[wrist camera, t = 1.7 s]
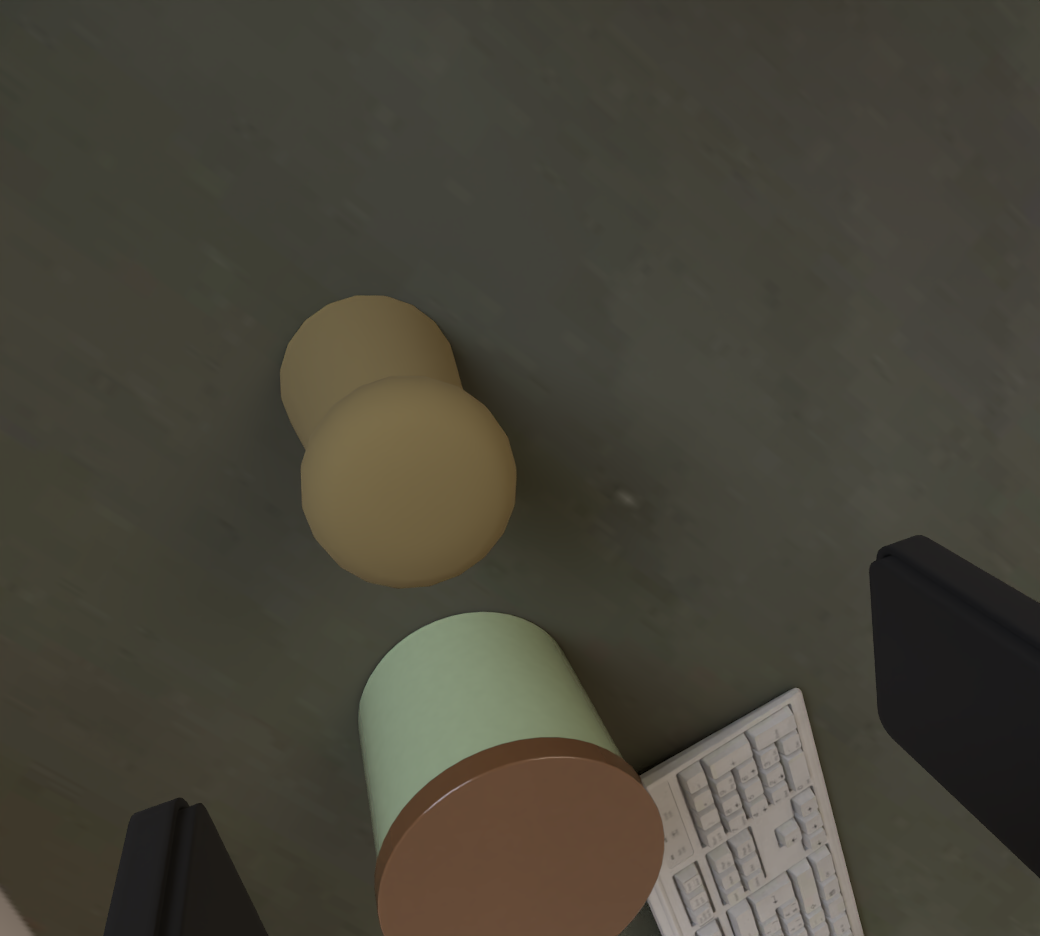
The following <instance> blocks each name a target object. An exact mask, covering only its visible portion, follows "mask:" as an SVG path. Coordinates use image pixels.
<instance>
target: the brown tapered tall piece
mask: <svg viewBox="0 0 1040 936" xmlns="http://www.w3.org/2000/svg"><path fill="white" fill-rule="evenodd" d="M280 384H281V399H282V402H283V404H284V407H285V409H286V412H287V415H288V417H289V420H290V422H291V424H292V426H293V428H294V430H295V432H296V434H297V435H298V437H299V439H300V441H301V443H302V444H303V446H304V448H305V450H306V451H305V454H304V457H303V461H302V464H301V491H302V509H303V511H304V514H305V516H306V518H307V521H308V523H309V526H310V528H311V531H312V533H313V536H314V538H315V539H316V540H317V541H318V542H319V544H320V545H321V546H322V547H323V548H324V549H325V550H326V551H327V553H328V554H329V555H330V556H331V557H332V558H333V559H334V560H335V561H336V563H337V564H338V565H339V566H340V567H341V568H343V569H345V570H347V571H348V572H350V573H352V574H354V575H356V576H357V577H359V578H361V579H363V580H365V581H366V582H369V583H374V584H379V585H383V586H388V587H393V588H398V589H399V588H412V587H425V586H431V585H434V584H437V583H440V582H442V581H445V580H448V579H451V578H453V577H456V576H459V575H460V574H462V573H463V572H465V571H466V570H467V569H469V568H470V567H472V566H473V565H474V564H476V563H477V562H479V561H480V560H481V559H483V558H484V557H485V556H486V555H487V554H488V552H489V551H490V550H491V548H492V547H493V546H494V545H495V543H496V542H497V541H498V540H499V538H500V537H501V536H502V535H503V533H504V531H505V529H506V526H507V524H508V521H509V518H510V516H511V513H512V511H513V508H514V506H515V493H516V476H517V475H516V465H515V461H514V458H513V454H512V450H511V447H510V443H509V440H508V437H507V435H506V434H505V432H504V431H503V430H502V428H501V427H500V425H499V424H498V422H497V421H496V420H495V418H494V417H493V415H492V414H491V412H490V411H489V410H488V409H487V408H486V406H485V405H484V404H482V403H481V402H479V401H478V400H477V399H475V398H474V397H473V396H471V395H470V394H468V393H467V392H466V391H464V390H463V389H462V385H461V381H460V377H459V373H458V369H457V366H456V363H455V359H454V356H453V352H452V349H451V346H450V343H449V342H448V340H447V339H446V337H445V336H444V335H443V333H442V332H441V330H440V329H439V327H438V326H437V325H436V323H435V322H434V321H433V320H432V319H430V318H429V317H428V316H426V315H425V314H424V313H422V312H421V311H420V310H418V309H417V308H416V307H414V306H413V305H411V304H408V303H405V302H402V301H399V300H396V299H393V298H390V297H387V296H363V295H356V296H353V297H350V298H346V299H343V300H340V301H337V302H333V303H330V304H328V305H326V306H325V307H324V308H322V309H321V310H319V311H318V312H316V313H315V314H314V315H312V316H311V317H309V318H308V319H307V320H305V321H304V323H303V324H302V325H301V327H300V328H299V330H298V331H297V332H296V334H295V335H294V336H293V338H292V339H291V341H290V342H289V343H288V346H287V349H286V352H285V356H284V359H283V362H282V366H281V369H280Z"/></svg>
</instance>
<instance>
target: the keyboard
mask: <svg viewBox="0 0 1040 936" xmlns="http://www.w3.org/2000/svg"><path fill="white" fill-rule="evenodd" d="M640 777H641V779H642V781H643V782H644V784H645V786H646V788H647V789H648V791H649V793H650V795H651V796H652V798H653V800H654V802H655V803H656V805H657V807H658V809H659V812H660V815H661V818H662V822H663V828H664V834H665V841H664V856H663V862H662V866H661V869H660V873H659V876H658V879H657V881H656V883H655V885H654V888H653V890H652V892H651V894H650V896H649V897H648V899H647V901H648V904H649V906H650V909H651V911H652V913H653V916H654V918H655V920H656V923H657V925H658V928H659V930H660V932H661V935H662V936H864V934H863V930H862V926H861V922H860V918H859V915H858V911H857V907H856V903H855V899H854V895H853V891H852V887H851V883H850V879H849V875H848V871H847V868H846V864H845V860H844V856H843V852H842V848H841V844H840V840H839V836H838V832H837V828H836V824H835V820H834V817H833V813H832V809H831V805H830V801H829V797H828V793H827V789H826V785H825V781H824V777H823V773H822V770H821V766H820V762H819V758H818V754H817V750H816V746H815V742H814V738H813V734H812V730H811V726H810V723H809V719H808V715H807V711H806V707H805V703H804V699H803V695H802V691H801V690H800V689H799V688H793V689H791V690H789V691H787V692H785V693H784V694H782V695H780V696H778V697H777V698H775V699H773V700H771V701H770V702H768V703H766V704H764V705H763V706H761V707H759V708H757V709H756V710H754V711H752V712H750V713H749V714H747V715H745V716H743V717H741V718H740V719H738V720H736V721H734V722H733V723H731V724H729V725H727V726H726V727H724V728H722V729H720V730H719V731H717V732H715V733H713V734H712V735H710V736H708V737H706V738H705V739H703V740H701V741H699V742H698V743H696V744H694V745H692V746H691V747H689V748H687V749H685V750H684V751H682V752H680V753H678V754H677V755H675V756H673V757H671V758H670V759H668V760H666V761H664V762H663V763H661V764H659V765H657V766H656V767H654V768H652V769H650V770H649V771H647V772H645V773H643V774H642V775H640Z"/></svg>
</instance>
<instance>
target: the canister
mask: <svg viewBox="0 0 1040 936" xmlns="http://www.w3.org/2000/svg"><path fill="white" fill-rule="evenodd" d="M358 729H359V736H360V743H361V750H362V758H363V765H364V772H365V779H366V786H367V793H368V800H369V807H370V814H371V821H372V828H373V835H374V842H375V849H376V856H377V863H376V869H375V885H374V889H375V897H376V904H377V912H378V918H379V923H380V927H381V930H382V933H383V935H384V936H618V935H619V934H620V933H621V932H622V931H623V930H624V929H625V928H626V927H627V925H628V924H629V923H630V922H631V921H632V920H633V919H634V918H635V916H636V915H637V914H638V912H639V911H640V910H641V908H642V907H643V905H644V904H645V902H646V900H647V899H648V897H649V896H650V894H651V892H652V890H653V888H654V885H655V883H656V881H657V879H658V876H659V873H660V869H661V866H662V862H663V856H664V841H665V834H664V828H663V822H662V818H661V815H660V812H659V809H658V807H657V805H656V803H655V802H654V800H653V798H652V796H651V795H650V793H649V791H648V789H647V788H646V786H645V784H644V782H643V781H642V779H641V777H640V776H639V775H638V774H637V772H636V771H635V770H634V769H633V768H632V767H631V766H630V765H629V764H628V763H627V762H625V761H624V759H623V757H622V756H621V754H620V752H619V750H618V749H617V747H616V745H615V743H614V741H613V740H612V738H611V736H610V734H609V733H608V731H607V729H606V727H605V725H604V724H603V722H602V720H601V718H600V717H599V715H598V713H597V711H596V709H595V708H594V706H593V704H592V702H591V701H590V699H589V697H588V695H587V693H586V692H585V690H584V688H583V686H582V685H581V683H580V681H579V679H578V677H577V676H576V674H575V672H574V670H573V669H572V667H571V665H570V663H569V661H568V660H567V658H566V656H565V654H564V653H563V651H562V649H561V648H560V646H559V645H558V644H557V643H556V641H555V640H554V639H553V638H552V637H551V636H550V635H549V634H547V633H546V632H545V631H544V630H542V629H541V628H539V627H538V626H536V625H535V624H533V623H531V622H529V621H526V620H524V619H522V618H519V617H515V616H512V615H508V614H502V613H496V612H472V613H464V614H459V615H453V616H450V617H447V618H443V619H440V620H437V621H435V622H433V623H430V624H428V625H426V626H424V627H422V628H420V629H418V630H417V631H415V632H413V633H411V634H410V635H409V636H407V637H406V638H404V639H403V640H402V641H400V642H399V643H398V644H397V645H396V646H395V647H394V648H392V649H391V650H390V651H389V652H388V653H387V654H386V655H385V657H384V658H383V659H382V660H381V661H380V663H379V664H378V665H377V667H376V668H375V670H374V671H373V673H372V674H371V676H370V678H369V680H368V682H367V684H366V686H365V688H364V691H363V694H362V697H361V701H360V706H359V712H358Z"/></svg>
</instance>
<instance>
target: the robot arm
mask: <svg viewBox="0 0 1040 936" xmlns="http://www.w3.org/2000/svg"><path fill="white" fill-rule="evenodd" d="M869 576H870V592H871V608H872V625H873V641H874V657H875V673H876V690H877V706H878V714H879V717H880V720H881V723H882V725H883V727H884V728H885V730H886V731H887V733H888V734H889V735H890V736H891V737H892V739H894V740H895V741H896V742H897V743H898V744H899V745H900V746H901V747H902V748H903V749H904V750H905V751H906V752H907V753H908V754H909V755H910V756H911V757H912V758H914V759H915V760H916V761H917V762H918V763H919V764H920V765H921V766H922V767H923V768H924V769H925V770H926V771H927V772H928V773H929V774H930V775H931V776H933V777H934V778H935V779H936V780H937V781H938V782H939V783H940V784H941V785H942V786H943V787H944V788H945V789H946V790H947V791H948V792H949V793H950V794H951V795H953V796H954V797H955V798H956V799H957V800H958V801H959V802H960V803H961V804H962V805H963V806H964V807H965V808H966V809H967V810H968V811H969V812H970V813H971V814H973V815H974V816H975V817H976V818H977V819H978V820H979V821H980V822H981V823H982V824H983V825H984V826H985V827H986V828H987V829H988V830H989V831H990V832H992V833H993V834H994V835H995V836H996V837H997V838H998V839H999V840H1000V841H1001V842H1002V843H1003V844H1004V845H1005V846H1006V847H1007V848H1008V849H1009V850H1010V851H1012V852H1013V853H1014V854H1015V855H1016V856H1017V857H1018V858H1019V859H1020V860H1021V861H1022V862H1023V863H1024V864H1025V865H1026V866H1027V867H1028V868H1029V869H1031V870H1032V871H1033V872H1034V873H1035V874H1036V875H1037V876H1038V877H1039V878H1040V603H1038V602H1036V601H1035V600H1033V599H1031V598H1029V597H1028V596H1026V595H1024V594H1023V593H1021V592H1019V591H1017V590H1016V589H1014V588H1012V587H1011V586H1009V585H1007V584H1006V583H1004V582H1002V581H1000V580H999V579H997V578H995V577H994V576H992V575H990V574H989V573H987V572H985V571H983V570H982V569H980V568H978V567H977V566H975V565H973V564H972V563H970V562H968V561H966V560H965V559H963V558H961V557H960V556H958V555H956V554H955V553H953V552H951V551H949V550H948V549H946V548H944V547H943V546H941V545H939V544H938V543H936V542H934V541H932V540H931V539H929V538H927V537H925V536H922V535H916V536H913V537H910V538H907V539H904V540H902V541H899V542H896V543H893V544H890V545H888V546H885V547H882V548H881V549H880V550H879V551H878V554H877V559H876V561H874V562H873V563H871V565H870V570H869ZM103 936H268V934H267V932H266V930H265V928H264V926H263V924H262V922H261V920H260V918H259V916H258V913H257V911H256V909H255V907H254V905H253V903H252V901H251V899H250V897H249V895H248V893H247V891H246V889H245V887H244V885H243V883H242V881H241V879H240V877H239V875H238V873H237V871H236V869H235V866H234V864H233V862H232V860H231V858H230V856H229V854H228V852H227V850H226V848H225V846H224V844H223V842H222V840H221V838H220V836H219V834H218V832H217V830H216V828H215V826H214V824H213V822H212V820H211V817H210V815H209V813H208V811H207V810H206V808H205V806H204V805H203V804H202V803H198V804H195V805H193V806H190V807H189V805H188V803H187V802H186V801H185V800H184V799H183V798H176V799H174V800H171V801H168V802H165V803H162V804H160V805H157V806H154V807H151V808H148V809H145V810H143V811H140V812H137V813H135V814H134V815H132V816H131V819H130V821H129V825H128V829H127V834H126V838H125V842H124V847H123V851H122V856H121V860H120V864H119V869H118V873H117V878H116V882H115V887H114V891H113V895H112V900H111V904H110V909H109V913H108V918H107V922H106V926H105V931H104V935H103Z"/></svg>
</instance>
